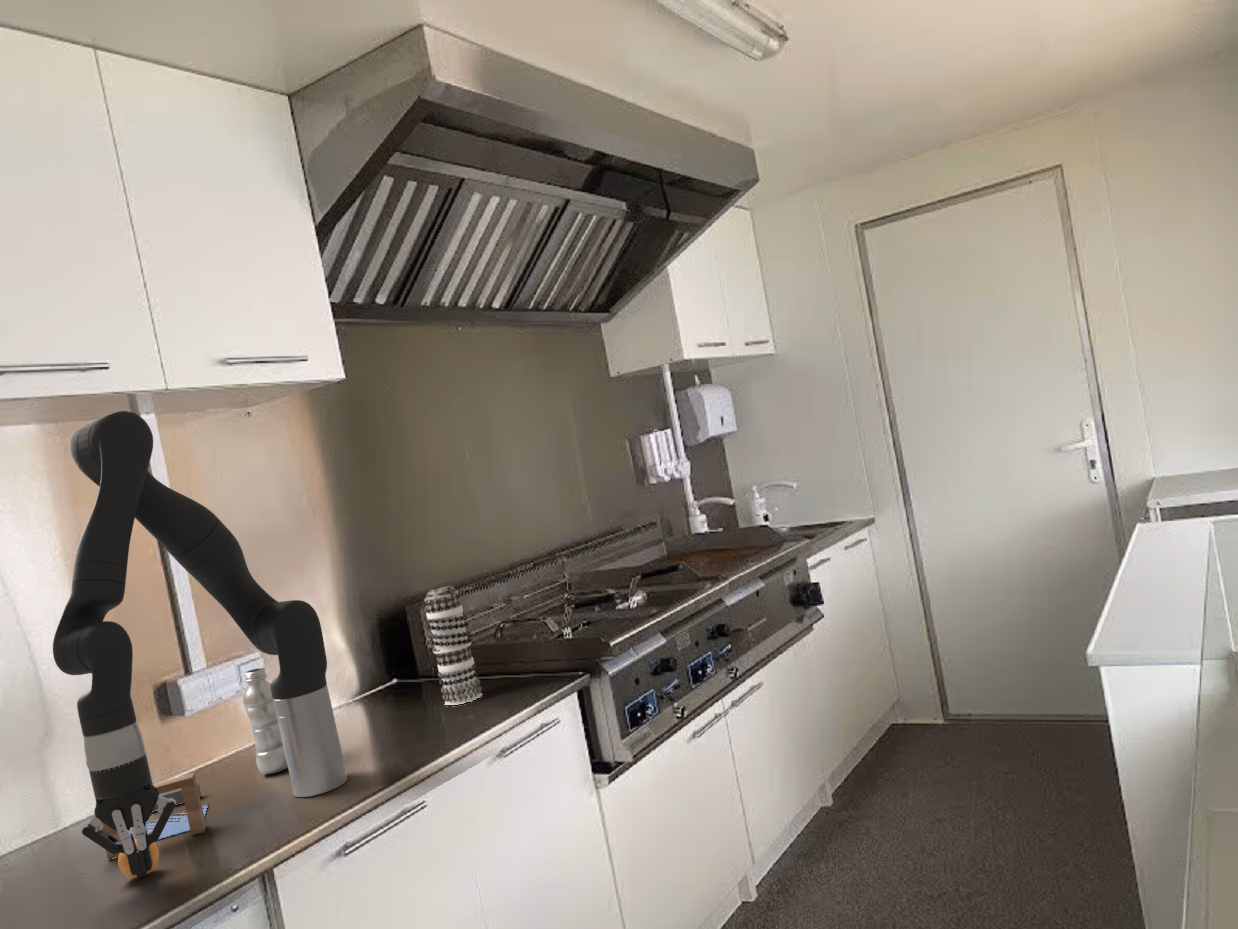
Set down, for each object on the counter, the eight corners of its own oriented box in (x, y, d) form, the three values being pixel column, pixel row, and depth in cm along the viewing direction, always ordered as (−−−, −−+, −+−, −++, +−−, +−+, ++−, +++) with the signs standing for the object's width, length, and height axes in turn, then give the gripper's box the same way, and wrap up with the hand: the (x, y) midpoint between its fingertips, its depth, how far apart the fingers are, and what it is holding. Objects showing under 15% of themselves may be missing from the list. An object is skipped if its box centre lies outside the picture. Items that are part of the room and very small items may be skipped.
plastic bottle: (298, 762, 194) (276, 662, 193) (288, 774, 187) (265, 670, 187) (266, 769, 194) (244, 669, 193) (254, 781, 187) (231, 678, 186)
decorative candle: (433, 707, 217) (409, 595, 216) (464, 693, 224) (441, 585, 223) (462, 707, 211) (437, 592, 210) (492, 693, 218) (468, 582, 218)
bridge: (111, 854, 161) (99, 799, 161) (206, 826, 165) (194, 772, 165) (108, 860, 158) (95, 804, 158) (204, 832, 162) (192, 777, 162)
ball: (127, 884, 148) (120, 847, 150) (166, 870, 150) (159, 834, 152) (117, 883, 143) (110, 844, 145) (157, 869, 145) (150, 831, 147)
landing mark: (130, 828, 174) (129, 826, 174) (208, 805, 177) (208, 804, 177) (116, 852, 161) (116, 851, 161) (201, 827, 165) (201, 826, 165)
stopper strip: (149, 811, 182) (146, 797, 182) (201, 796, 184) (198, 783, 184) (147, 814, 180) (144, 800, 180) (200, 799, 183) (197, 785, 183)
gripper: (168, 740, 149) (193, 851, 150) (71, 766, 145) (97, 881, 145) (163, 751, 142) (189, 868, 143) (61, 779, 138) (88, 900, 138)
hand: (143, 875), depth 144 cm, fingers closed
